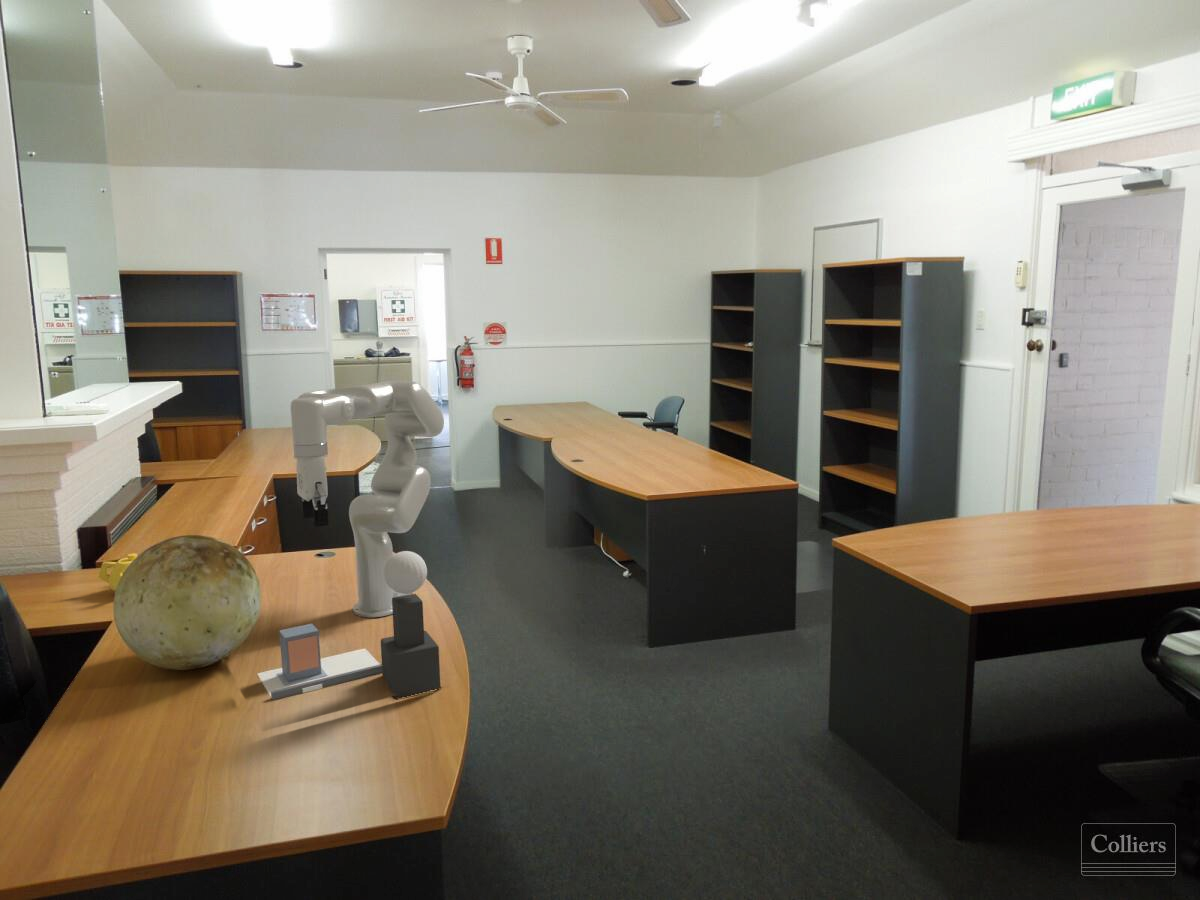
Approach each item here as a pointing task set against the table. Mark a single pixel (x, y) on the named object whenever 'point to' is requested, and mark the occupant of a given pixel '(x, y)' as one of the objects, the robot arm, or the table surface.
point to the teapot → (115, 570)
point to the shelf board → (323, 674)
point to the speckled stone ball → (187, 602)
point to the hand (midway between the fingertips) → (315, 521)
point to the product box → (300, 652)
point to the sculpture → (408, 631)
